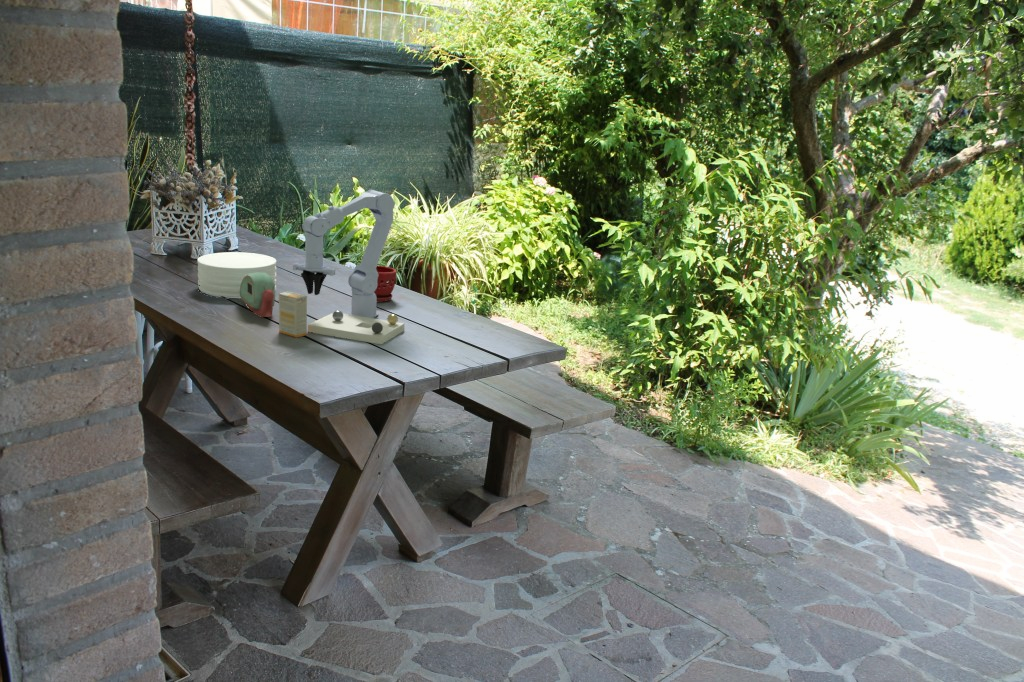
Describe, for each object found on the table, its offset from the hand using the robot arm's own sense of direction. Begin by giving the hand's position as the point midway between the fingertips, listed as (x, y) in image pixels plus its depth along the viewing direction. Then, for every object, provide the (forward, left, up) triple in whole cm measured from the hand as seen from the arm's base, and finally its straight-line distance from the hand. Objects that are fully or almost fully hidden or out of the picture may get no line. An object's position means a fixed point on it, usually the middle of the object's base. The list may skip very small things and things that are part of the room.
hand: (313, 293), depth 285 cm
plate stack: (-26, -46, -11) cm, 54 cm away
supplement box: (+13, 0, -11) cm, 17 cm away
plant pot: (-42, +4, -11) cm, 44 cm away
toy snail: (-4, -23, -11) cm, 26 cm away
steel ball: (0, +9, -6) cm, 11 cm away
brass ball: (-6, +26, -6) cm, 27 cm away
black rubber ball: (+6, +26, -6) cm, 27 cm away
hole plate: (0, +16, -10) cm, 19 cm away
